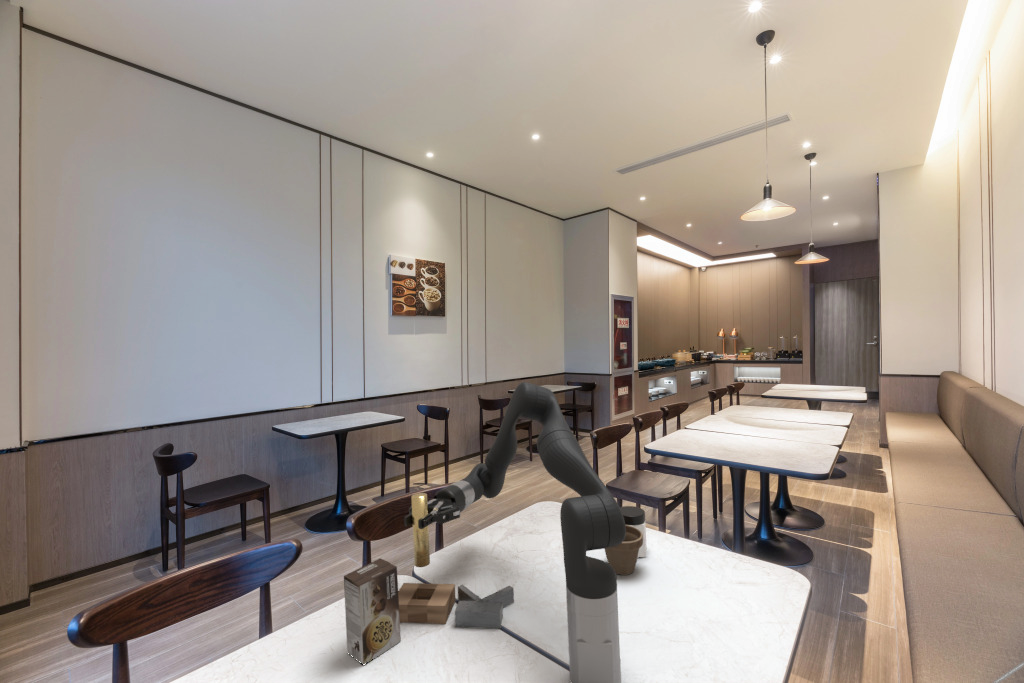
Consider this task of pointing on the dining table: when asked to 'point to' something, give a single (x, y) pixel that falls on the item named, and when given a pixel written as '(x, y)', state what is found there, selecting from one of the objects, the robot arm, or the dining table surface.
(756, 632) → the dining table surface
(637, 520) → the jar
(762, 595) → the dining table surface
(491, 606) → the v block
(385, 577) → the coffee box
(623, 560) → the flower pot
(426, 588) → the hollow rectangular block
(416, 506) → the axle
